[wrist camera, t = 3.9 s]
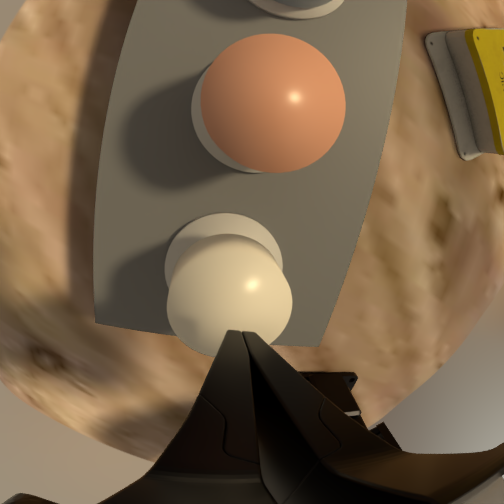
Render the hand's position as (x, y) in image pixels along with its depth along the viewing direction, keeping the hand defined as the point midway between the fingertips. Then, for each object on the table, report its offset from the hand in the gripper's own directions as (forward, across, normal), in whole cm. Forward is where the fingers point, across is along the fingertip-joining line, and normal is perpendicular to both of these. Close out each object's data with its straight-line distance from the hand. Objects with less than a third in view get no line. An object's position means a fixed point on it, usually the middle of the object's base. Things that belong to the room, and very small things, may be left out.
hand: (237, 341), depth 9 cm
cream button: (+3, 0, 0) cm, 3 cm away
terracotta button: (+3, 0, -7) cm, 8 cm away
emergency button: (+9, -18, -17) cm, 26 cm away
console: (+8, 0, -7) cm, 11 cm away
